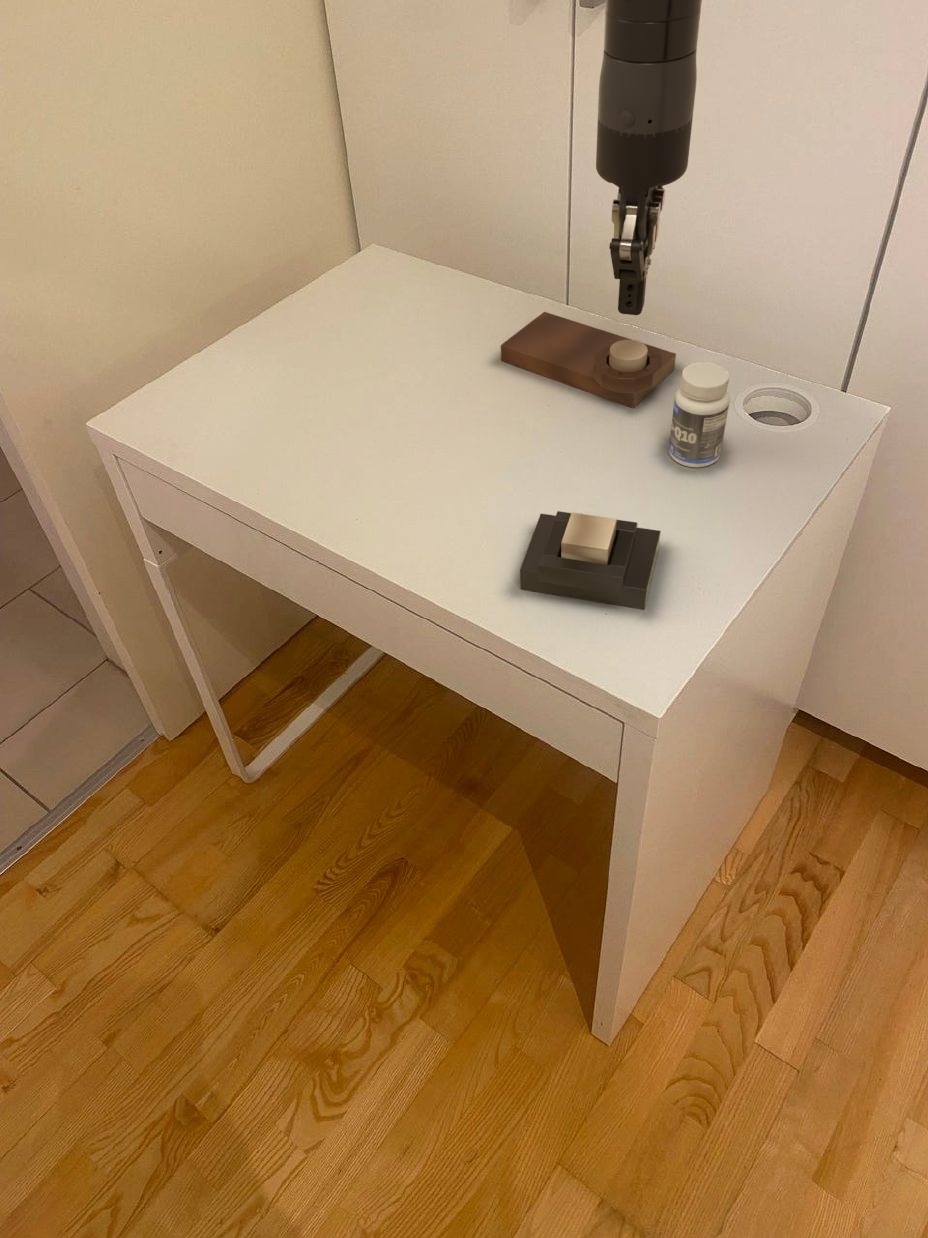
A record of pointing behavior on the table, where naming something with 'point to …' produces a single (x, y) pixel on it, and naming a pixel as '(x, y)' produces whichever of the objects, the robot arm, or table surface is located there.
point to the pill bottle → (699, 415)
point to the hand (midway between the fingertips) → (630, 310)
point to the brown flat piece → (583, 359)
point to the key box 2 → (591, 565)
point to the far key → (628, 356)
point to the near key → (588, 538)
